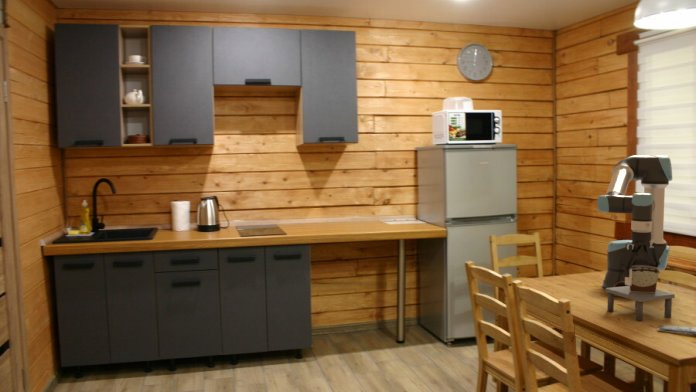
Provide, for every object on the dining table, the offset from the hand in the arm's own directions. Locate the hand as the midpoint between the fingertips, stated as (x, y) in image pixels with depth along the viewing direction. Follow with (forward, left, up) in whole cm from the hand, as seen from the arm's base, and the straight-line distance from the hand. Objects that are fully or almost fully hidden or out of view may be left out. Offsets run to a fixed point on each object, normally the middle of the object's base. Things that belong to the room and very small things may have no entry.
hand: (639, 283), depth 240 cm
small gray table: (0, 0, -13) cm, 13 cm away
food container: (-1, 0, -3) cm, 3 cm away
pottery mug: (-16, -25, -13) cm, 32 cm away
